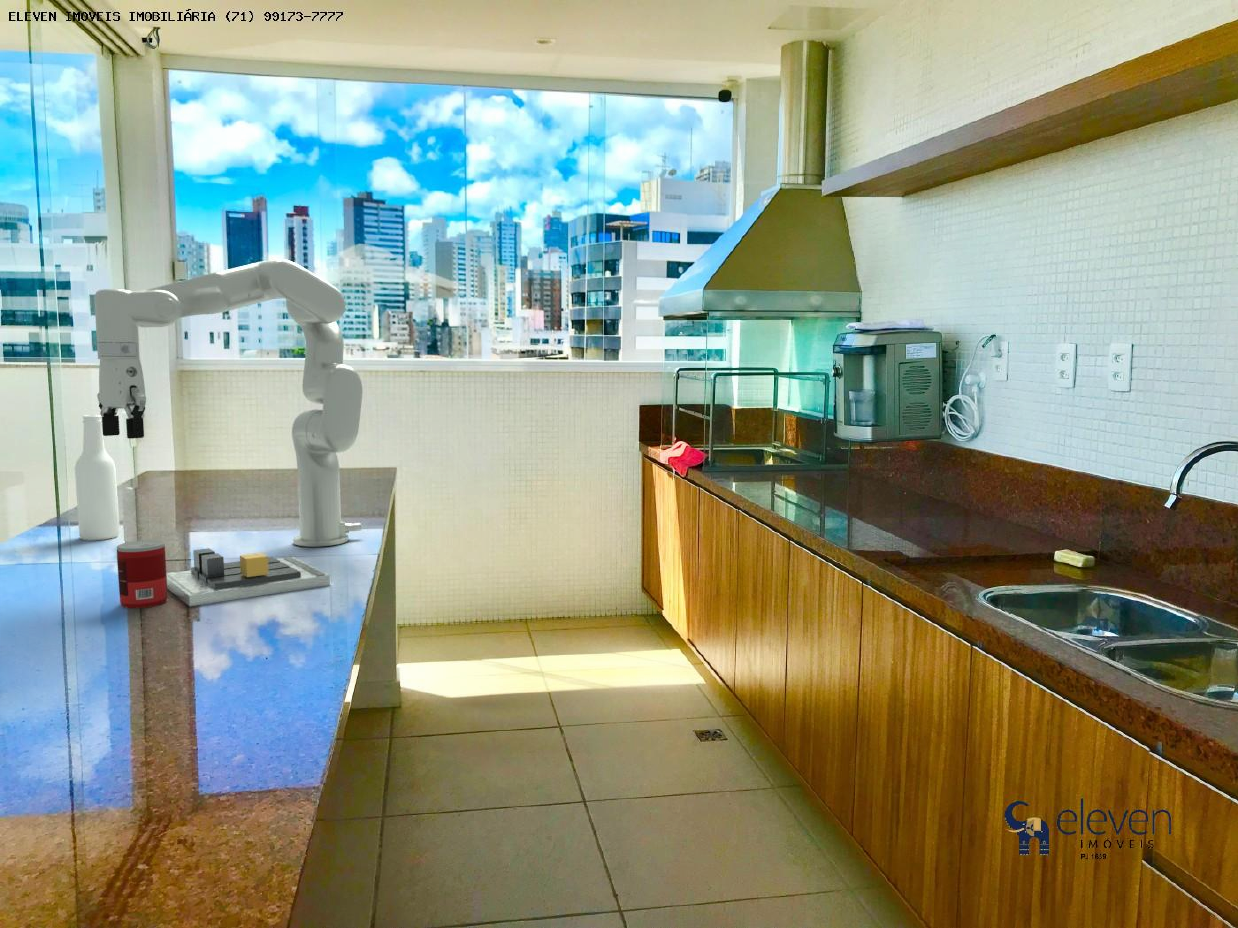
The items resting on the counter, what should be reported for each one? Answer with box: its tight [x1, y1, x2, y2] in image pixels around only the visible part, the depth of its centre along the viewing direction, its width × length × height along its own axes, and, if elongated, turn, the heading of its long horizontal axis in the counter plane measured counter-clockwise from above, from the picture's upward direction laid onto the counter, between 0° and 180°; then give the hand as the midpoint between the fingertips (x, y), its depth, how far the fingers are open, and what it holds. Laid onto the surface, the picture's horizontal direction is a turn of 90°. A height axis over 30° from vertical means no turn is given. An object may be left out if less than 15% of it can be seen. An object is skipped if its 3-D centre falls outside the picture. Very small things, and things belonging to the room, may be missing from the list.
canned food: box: [116, 539, 168, 609], centre depth 179 cm, size 8×8×11 cm
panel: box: [166, 547, 331, 607], centre depth 193 cm, size 26×21×6 cm
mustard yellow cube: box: [239, 552, 268, 577], centre depth 188 cm, size 4×4×4 cm
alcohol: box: [74, 414, 121, 542], centre depth 240 cm, size 9×9×30 cm
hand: (123, 436), depth 199 cm, fingers open, 9 cm apart
